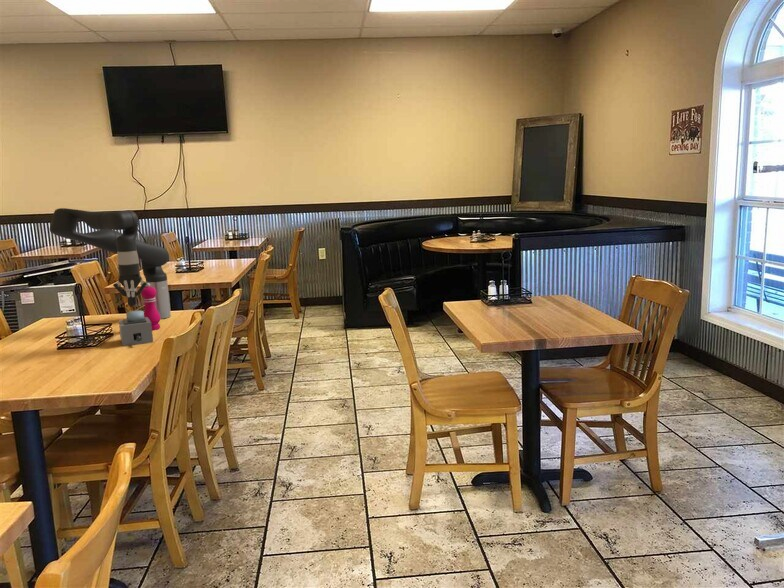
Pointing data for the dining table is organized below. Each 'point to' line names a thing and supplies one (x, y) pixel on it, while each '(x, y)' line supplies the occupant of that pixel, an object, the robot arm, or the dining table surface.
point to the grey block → (135, 331)
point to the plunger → (137, 337)
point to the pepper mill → (151, 306)
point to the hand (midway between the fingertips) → (132, 306)
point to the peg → (135, 317)
